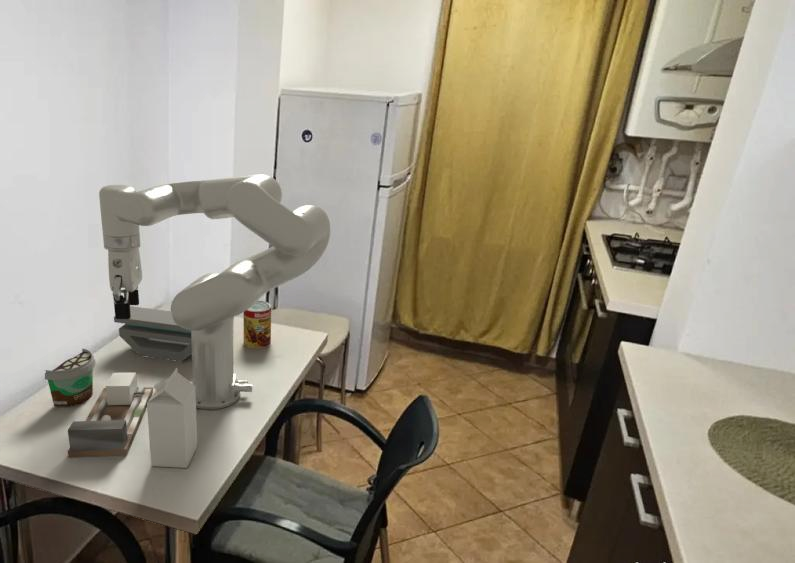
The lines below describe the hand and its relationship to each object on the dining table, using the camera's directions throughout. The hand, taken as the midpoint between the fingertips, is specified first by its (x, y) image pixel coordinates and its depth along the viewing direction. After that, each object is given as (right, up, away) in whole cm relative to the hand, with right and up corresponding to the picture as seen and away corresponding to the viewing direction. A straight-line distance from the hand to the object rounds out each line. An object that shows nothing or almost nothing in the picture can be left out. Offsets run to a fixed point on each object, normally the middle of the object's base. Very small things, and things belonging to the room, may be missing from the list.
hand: (127, 311), depth 133 cm
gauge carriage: (+1, -20, -2) cm, 20 cm away
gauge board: (+1, -24, -8) cm, 26 cm away
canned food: (+22, -11, +33) cm, 42 cm away
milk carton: (+18, -30, -17) cm, 39 cm away
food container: (-11, -21, -1) cm, 23 cm away
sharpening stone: (0, -13, +23) cm, 27 cm away
